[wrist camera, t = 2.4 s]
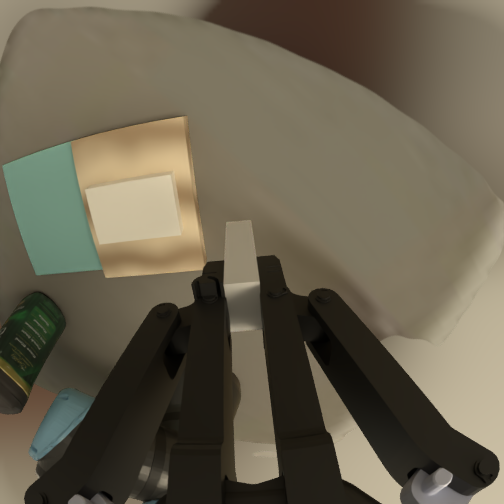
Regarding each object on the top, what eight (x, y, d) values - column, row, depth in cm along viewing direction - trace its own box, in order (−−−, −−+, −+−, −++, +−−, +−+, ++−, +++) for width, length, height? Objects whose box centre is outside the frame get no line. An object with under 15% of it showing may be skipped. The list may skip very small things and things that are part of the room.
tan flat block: (206, 258, 34) (205, 269, 32) (112, 267, 34) (106, 277, 32) (187, 115, 26) (183, 116, 24) (81, 138, 26) (70, 141, 24)
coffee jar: (41, 282, 34) (-24, 376, 18) (74, 321, 38) (27, 422, 21) (14, 304, 36) (-40, 386, 19) (44, 338, 39) (2, 424, 23)
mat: (110, 267, 34) (109, 268, 33) (37, 273, 33) (36, 275, 33) (79, 138, 26) (77, 139, 26) (4, 164, 26) (2, 165, 26)
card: (183, 228, 29) (181, 235, 28) (104, 237, 29) (99, 244, 28) (174, 170, 27) (170, 174, 25) (91, 185, 26) (84, 189, 25)
